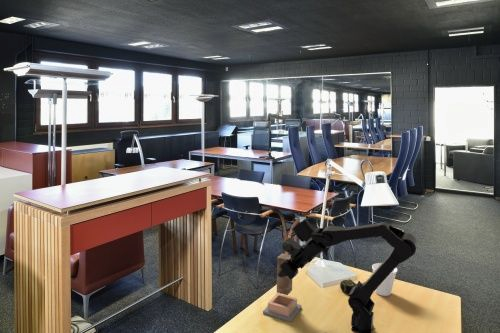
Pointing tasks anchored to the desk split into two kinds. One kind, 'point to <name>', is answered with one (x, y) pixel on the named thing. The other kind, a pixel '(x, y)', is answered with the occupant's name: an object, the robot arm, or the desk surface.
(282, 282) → the walnut pillar
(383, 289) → the cup
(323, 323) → the desk surface
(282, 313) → the socket stand
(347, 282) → the tape measure
